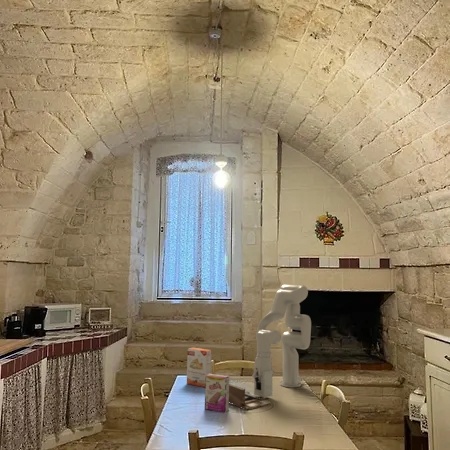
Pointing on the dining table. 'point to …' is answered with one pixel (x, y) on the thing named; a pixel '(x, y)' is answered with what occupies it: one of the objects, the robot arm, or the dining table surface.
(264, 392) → the small box
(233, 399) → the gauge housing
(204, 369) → the cracker box
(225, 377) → the candy bar box
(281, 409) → the dining table surface
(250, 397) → the gauge carriage
